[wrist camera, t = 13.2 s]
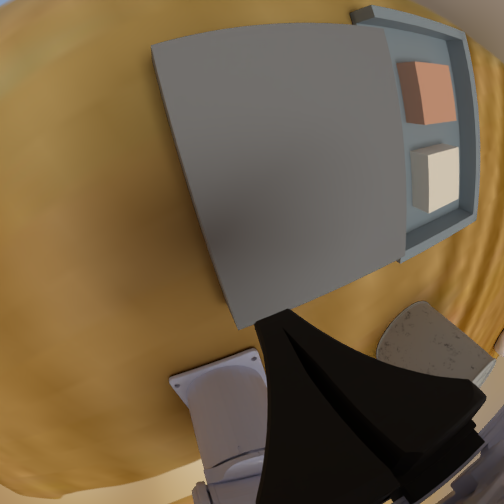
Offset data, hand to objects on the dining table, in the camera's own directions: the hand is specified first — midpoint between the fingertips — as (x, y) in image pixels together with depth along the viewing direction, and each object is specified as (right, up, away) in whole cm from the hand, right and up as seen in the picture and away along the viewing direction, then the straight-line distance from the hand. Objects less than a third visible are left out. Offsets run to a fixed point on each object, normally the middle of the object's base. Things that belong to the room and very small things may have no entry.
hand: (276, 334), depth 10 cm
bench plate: (+2, +9, +7) cm, 12 cm away
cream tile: (+15, +9, +9) cm, 20 cm away
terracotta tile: (+14, +15, +6) cm, 21 cm away
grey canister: (+18, -7, +21) cm, 29 cm away
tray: (+14, +14, +10) cm, 22 cm away
